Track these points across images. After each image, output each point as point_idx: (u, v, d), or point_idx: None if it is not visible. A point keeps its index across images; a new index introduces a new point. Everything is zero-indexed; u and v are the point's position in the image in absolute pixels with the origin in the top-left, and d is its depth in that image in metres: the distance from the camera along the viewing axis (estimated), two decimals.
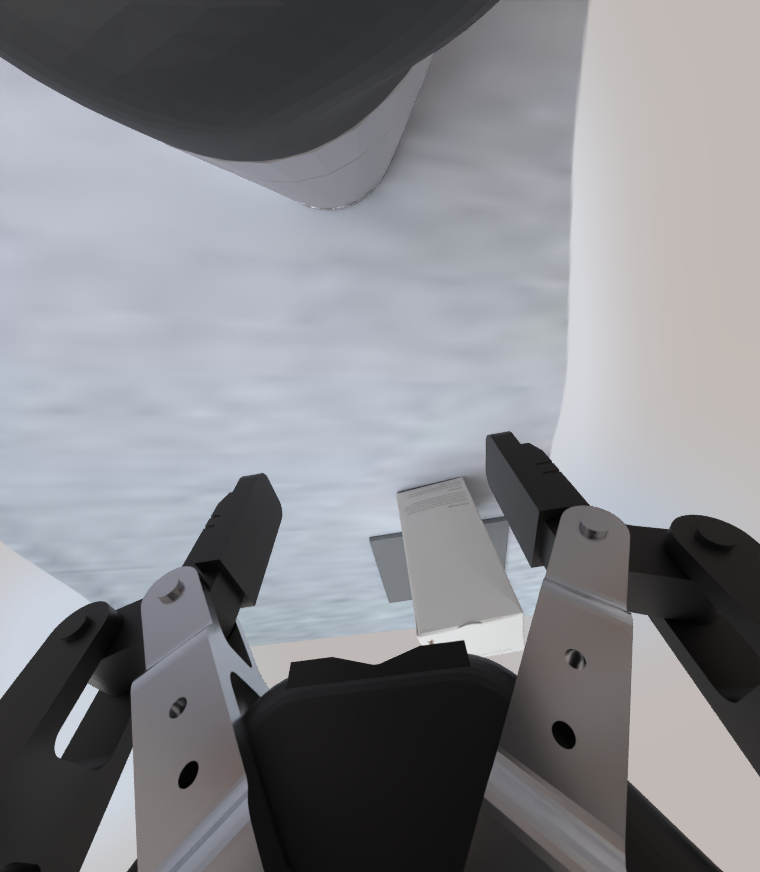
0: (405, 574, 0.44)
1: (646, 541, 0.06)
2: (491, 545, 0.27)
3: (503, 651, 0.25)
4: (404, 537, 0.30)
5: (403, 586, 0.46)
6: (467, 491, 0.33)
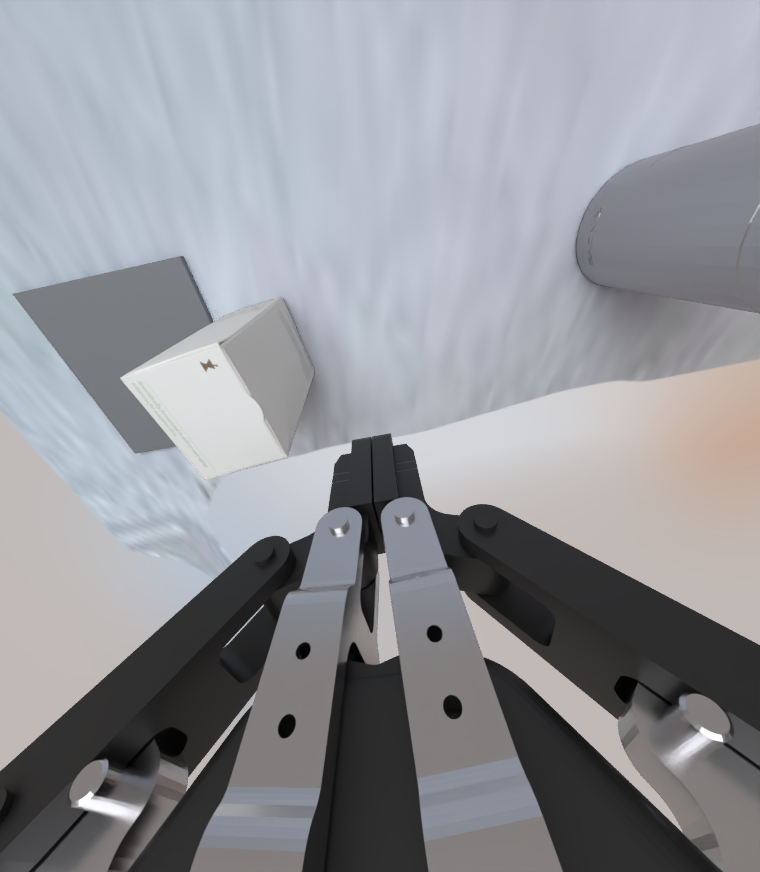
0: (113, 318, 0.29)
1: (449, 526, 0.08)
2: (300, 413, 0.25)
3: (197, 459, 0.20)
4: (265, 312, 0.23)
5: (78, 317, 0.28)
6: (311, 379, 0.31)
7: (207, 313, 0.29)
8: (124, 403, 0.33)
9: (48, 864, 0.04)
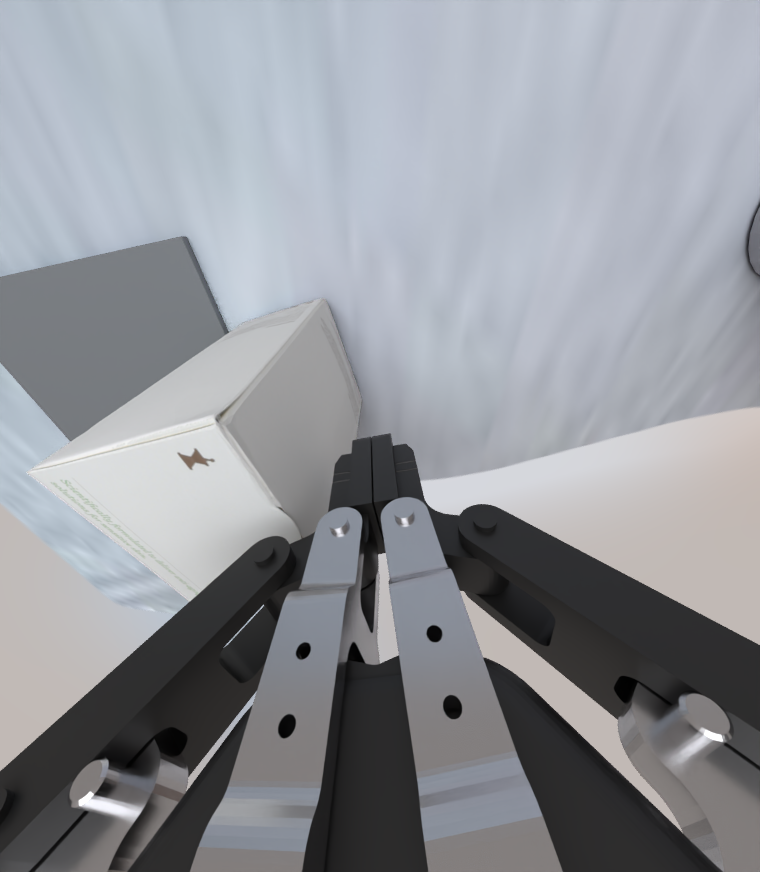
0: (87, 326, 0.20)
1: (449, 527, 0.08)
2: None
3: (183, 586, 0.11)
4: (304, 325, 0.15)
5: (35, 325, 0.20)
6: (359, 414, 0.22)
7: (220, 319, 0.20)
8: None
9: (48, 864, 0.04)
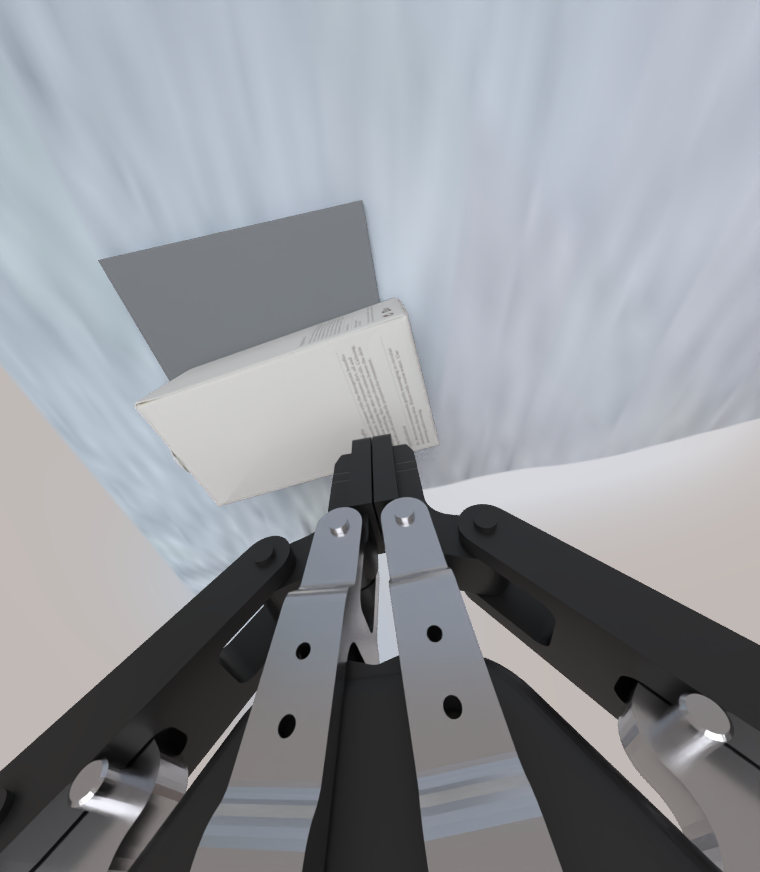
0: (241, 299, 0.19)
1: (449, 527, 0.08)
2: (297, 482, 0.19)
3: None
4: (287, 357, 0.15)
5: (189, 297, 0.19)
6: None
7: (377, 291, 0.20)
8: None
9: (48, 864, 0.04)
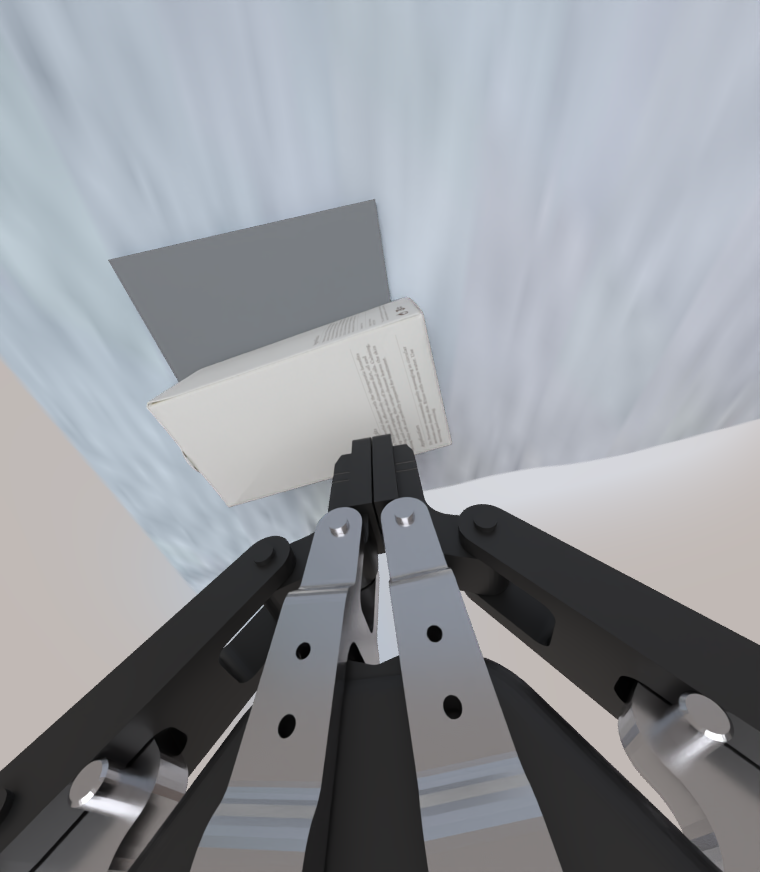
0: (252, 299, 0.19)
1: (449, 527, 0.08)
2: (309, 483, 0.19)
3: None
4: (301, 356, 0.15)
5: (199, 297, 0.19)
6: None
7: (388, 291, 0.20)
8: None
9: (48, 864, 0.04)
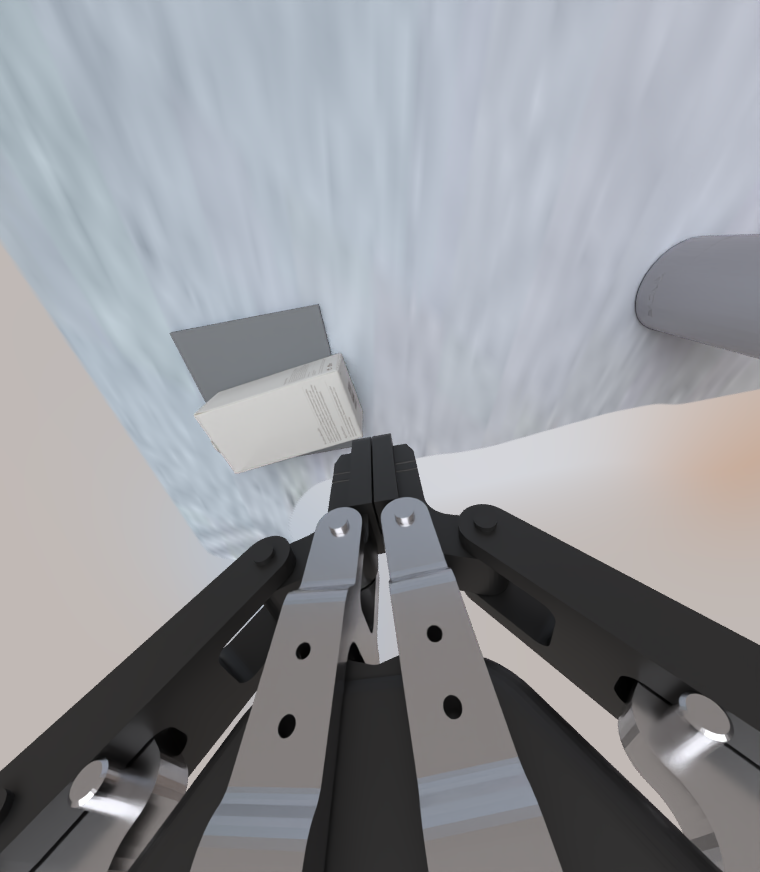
0: (250, 353, 0.34)
1: (449, 526, 0.08)
2: (282, 459, 0.34)
3: None
4: (277, 390, 0.30)
5: (220, 352, 0.33)
6: (341, 442, 0.33)
7: (329, 349, 0.34)
8: None
9: (48, 864, 0.04)
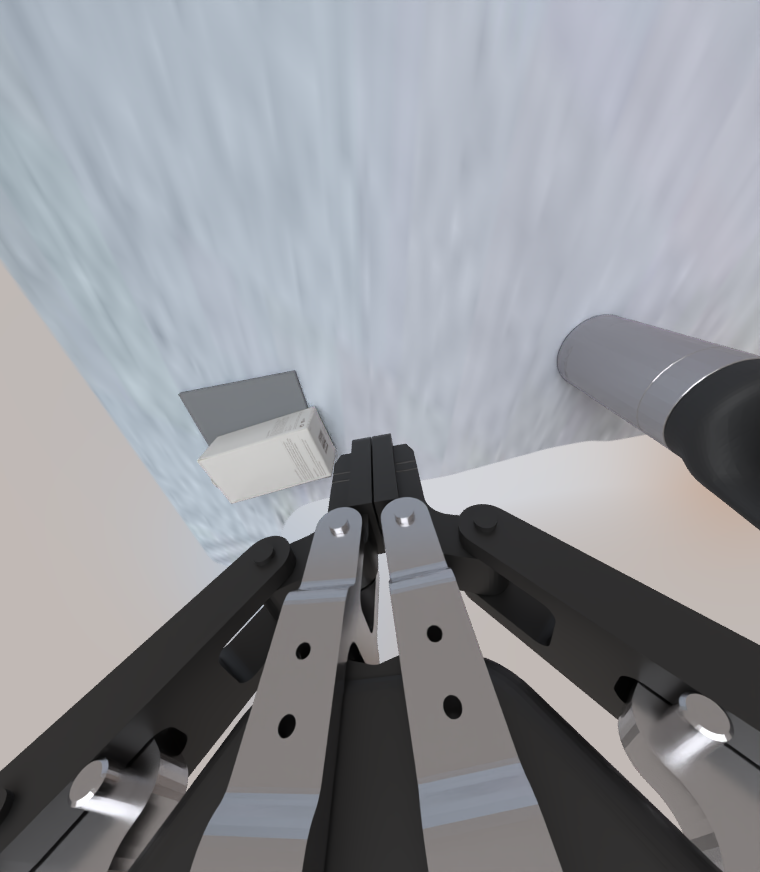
0: (242, 407, 0.42)
1: (450, 526, 0.08)
2: (268, 492, 0.42)
3: None
4: (260, 442, 0.38)
5: (218, 407, 0.42)
6: (314, 479, 0.41)
7: (305, 403, 0.42)
8: None
9: (48, 864, 0.04)
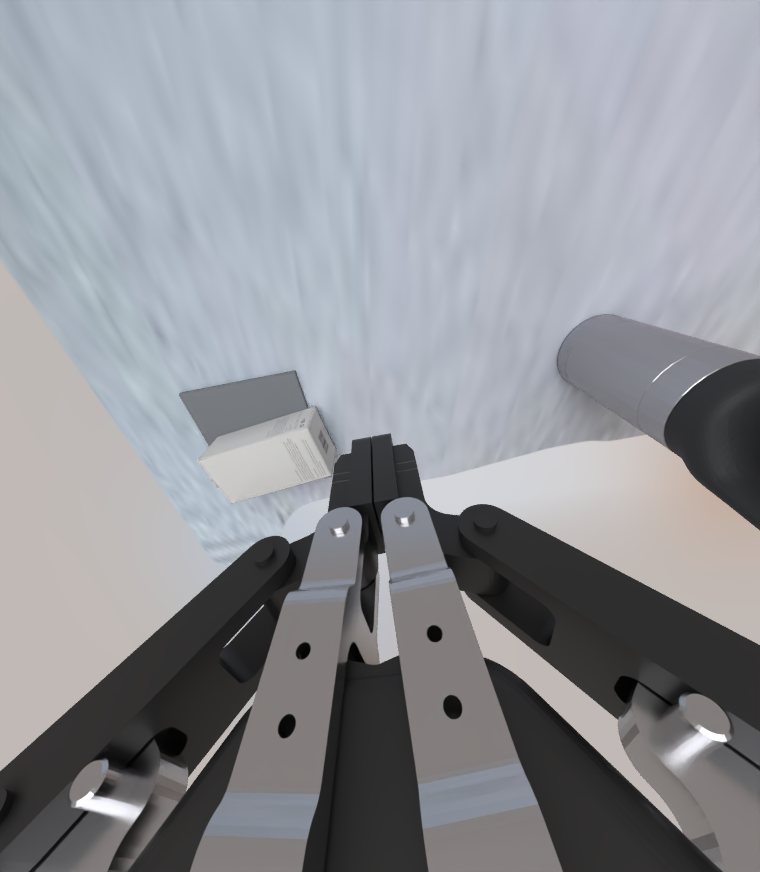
0: (242, 407, 0.42)
1: (449, 526, 0.08)
2: (268, 492, 0.42)
3: None
4: (261, 442, 0.38)
5: (218, 407, 0.42)
6: (314, 479, 0.41)
7: (305, 403, 0.42)
8: None
9: (48, 864, 0.04)
